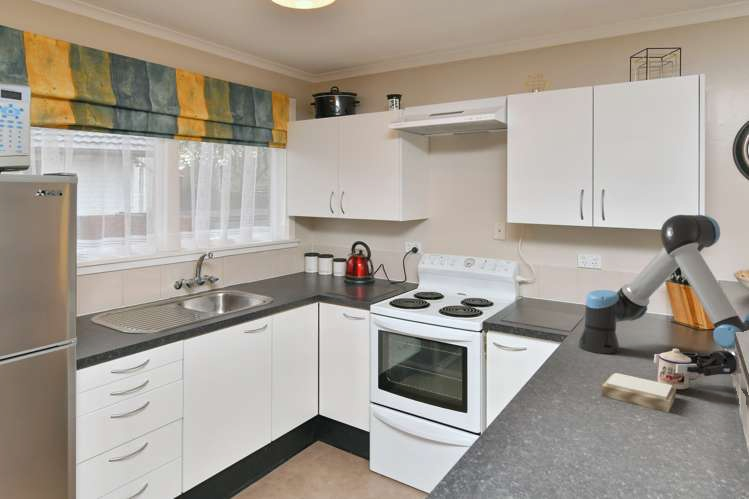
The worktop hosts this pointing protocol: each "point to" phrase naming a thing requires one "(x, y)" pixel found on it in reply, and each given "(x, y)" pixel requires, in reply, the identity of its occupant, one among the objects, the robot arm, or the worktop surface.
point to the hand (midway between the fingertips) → (665, 363)
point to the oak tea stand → (639, 391)
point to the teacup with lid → (674, 369)
